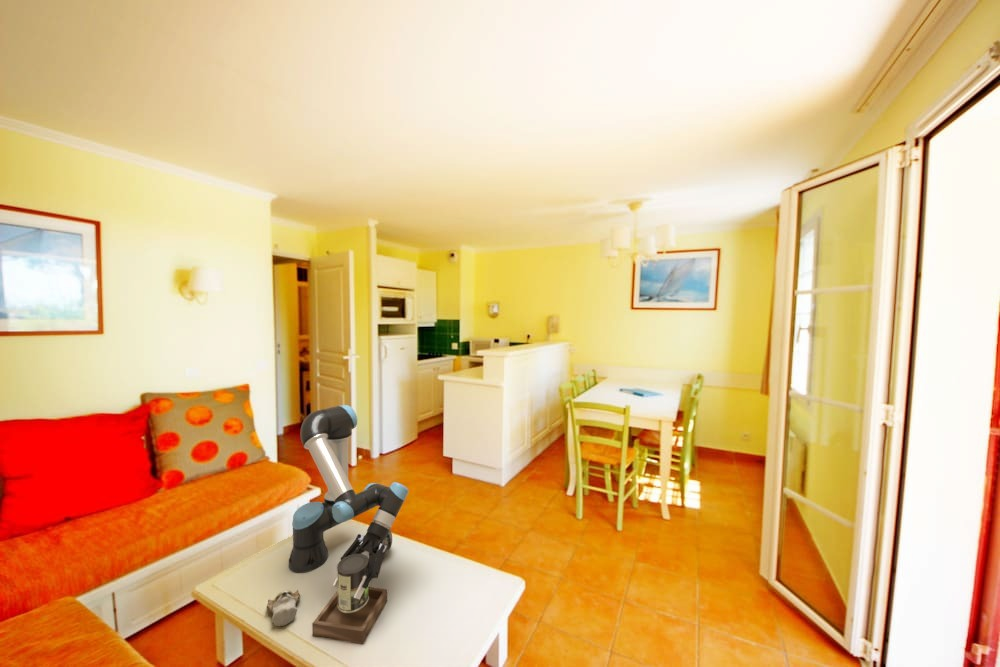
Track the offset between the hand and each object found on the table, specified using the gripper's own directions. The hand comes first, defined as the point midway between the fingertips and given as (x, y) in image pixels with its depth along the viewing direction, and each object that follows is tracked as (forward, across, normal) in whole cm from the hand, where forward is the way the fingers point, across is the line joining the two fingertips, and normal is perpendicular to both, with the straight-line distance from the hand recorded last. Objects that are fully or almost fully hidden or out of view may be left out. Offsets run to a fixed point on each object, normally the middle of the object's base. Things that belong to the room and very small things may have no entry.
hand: (345, 592), depth 126 cm
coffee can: (+2, 0, -6) cm, 6 cm away
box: (+6, +1, -10) cm, 12 cm away
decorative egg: (-13, +18, -30) cm, 37 cm away
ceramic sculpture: (+14, +23, -3) cm, 27 cm away
